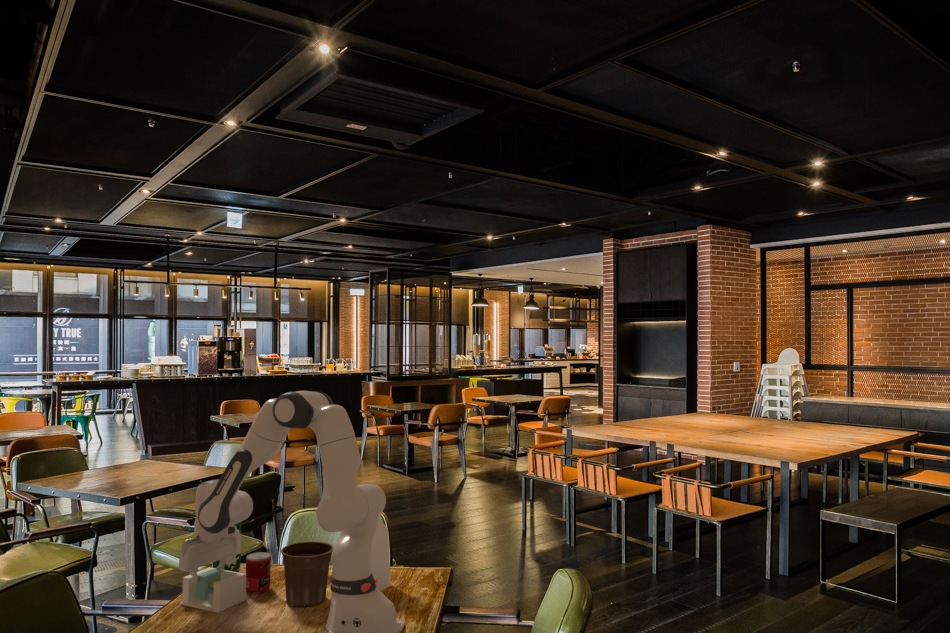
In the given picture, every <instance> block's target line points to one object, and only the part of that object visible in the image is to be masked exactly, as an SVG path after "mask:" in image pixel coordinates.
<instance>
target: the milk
mask: <svg viewBox="0 0 950 633" xmlns="http://www.w3.org/2000/svg"><path fill="white" fill-rule="evenodd" d="M389 536H390V534H389V530H388V527H387V526H386V525H385V524H384V523H383V522H382V520H381V519H380V518H379V519H378V522H377V526H376V530H375V534H374V538H373V543H372V555H371V572H372V574H373V577H374V580H375V579H376V578H378V577H379V579H378V580H379V581H378V580H377V581H378V582H377V583H376V588H377V589H378V590H379V591H380V592H382V591H383V590H385V589H387V588H388V587H391V585H392V581H391V579H392V578H391V577H392V576H391V559H390V558H391V556H390V537H389Z"/></svg>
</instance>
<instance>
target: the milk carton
mask: <svg viewBox="0 0 950 633" xmlns="http://www.w3.org/2000/svg"><path fill="white" fill-rule="evenodd" d="M234 526H237V531H236V533H235V534H236V535H237V551H236V553H235V554H234V555H231V556H229V557H227V562H226V564H225V566H224V570H228V571H233V572H239V573H240V570H241V562H242V525H241V522H239V523H237V524H235V525H234ZM219 563H220V561H219V560H218V561H215V562H213V563H211V564H212V565H211V568H216V567H218V566H219Z"/></svg>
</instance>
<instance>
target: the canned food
mask: <svg viewBox="0 0 950 633" xmlns="http://www.w3.org/2000/svg"><path fill="white" fill-rule="evenodd" d="M271 563H272V554H271V553H269V552H264V551H261V552H260V551H259V552H252V553H250V554H248V555H246V557H245V574H246V593H249V594H260V593H261V594H262V593H264V592H267V591H269V589H270V588H271V574H272V573H271V570H272V569H271V568H272V567H271V566H272V564H271Z"/></svg>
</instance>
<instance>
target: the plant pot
mask: <svg viewBox="0 0 950 633" xmlns="http://www.w3.org/2000/svg"><path fill="white" fill-rule="evenodd" d="M333 548H334V545H332V544H330V543H328V542H324V541H303V542H302V541H300V542H294V543H291V544H288V545H285V546H284V547H282V548H281V550H280V554H281V555H282V564H283V567H284V568H283V569H284V571H283V572H284V584H285V602H286V603H287V605H289V606H292V607H295V608H304V607H305V606H309V607H313V606H317V605H320V604H321V603H323V602H324V601H325V600H326V598H327V588H328V579H329V570H330V563H331V561H332V556H333Z"/></svg>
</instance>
